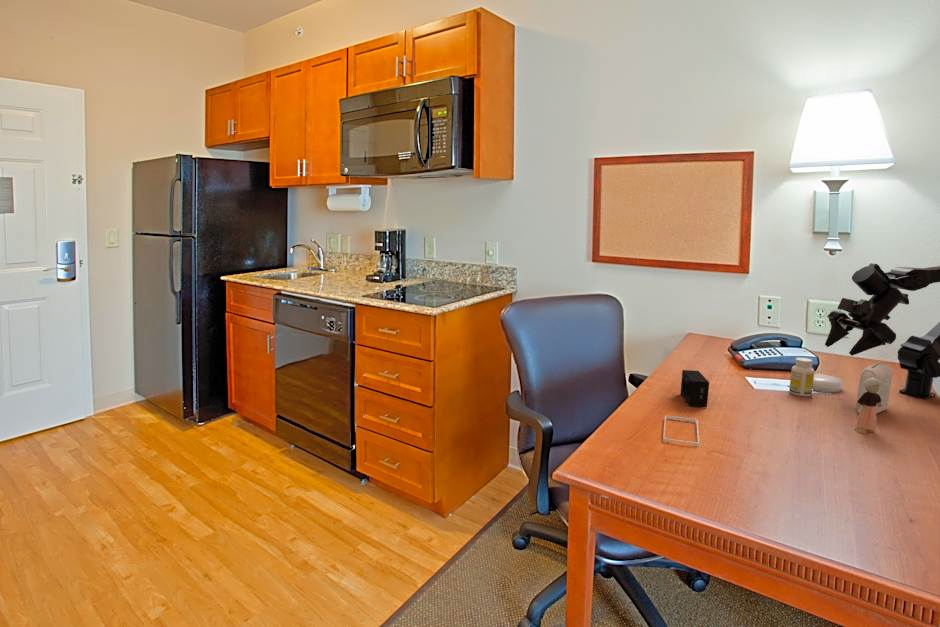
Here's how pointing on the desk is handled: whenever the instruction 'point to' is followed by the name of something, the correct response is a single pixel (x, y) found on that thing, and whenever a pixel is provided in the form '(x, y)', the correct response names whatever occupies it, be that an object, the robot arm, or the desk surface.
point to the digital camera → (694, 388)
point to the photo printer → (883, 375)
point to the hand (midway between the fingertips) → (837, 350)
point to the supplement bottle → (802, 377)
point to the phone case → (681, 420)
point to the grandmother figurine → (868, 406)
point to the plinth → (826, 383)
